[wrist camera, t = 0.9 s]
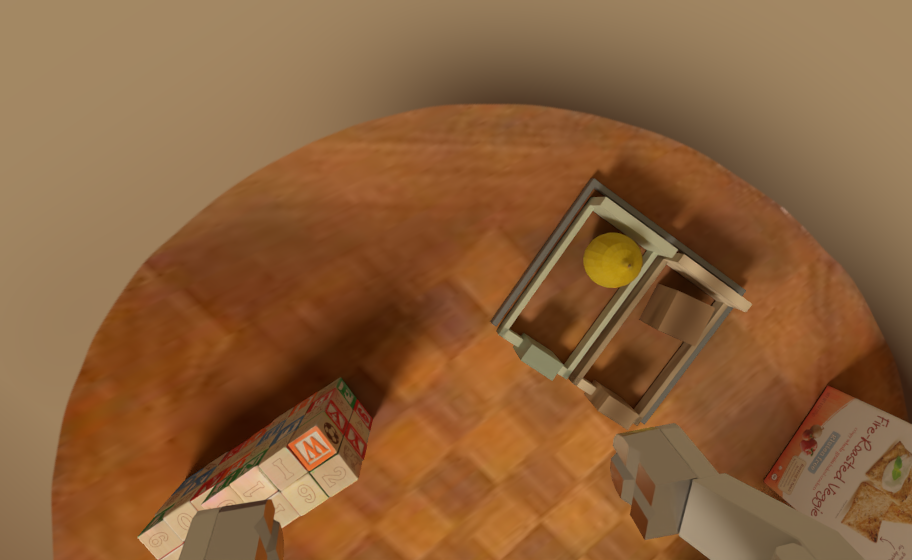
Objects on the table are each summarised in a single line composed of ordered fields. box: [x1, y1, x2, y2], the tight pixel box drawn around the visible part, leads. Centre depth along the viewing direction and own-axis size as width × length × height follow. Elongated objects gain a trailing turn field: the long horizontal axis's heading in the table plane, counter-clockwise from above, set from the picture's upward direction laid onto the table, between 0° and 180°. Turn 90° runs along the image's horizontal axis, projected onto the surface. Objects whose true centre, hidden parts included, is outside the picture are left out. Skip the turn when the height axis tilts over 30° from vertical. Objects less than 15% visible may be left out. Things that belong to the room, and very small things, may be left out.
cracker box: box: [764, 386, 912, 560], centre depth 47 cm, size 14×6×21 cm, turn 152°
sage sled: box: [497, 197, 678, 380], centre depth 50 cm, size 9×18×4 cm, turn 146°
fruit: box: [583, 233, 643, 288], centre depth 48 cm, size 6×6×8 cm
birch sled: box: [569, 253, 752, 430], centre depth 52 cm, size 9×18×4 cm, turn 146°
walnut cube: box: [639, 284, 715, 347], centre depth 52 cm, size 4×4×4 cm
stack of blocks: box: [138, 377, 373, 560], centre depth 48 cm, size 21×6×12 cm, turn 124°
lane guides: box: [491, 178, 746, 424], centre depth 53 cm, size 21×19×1 cm
